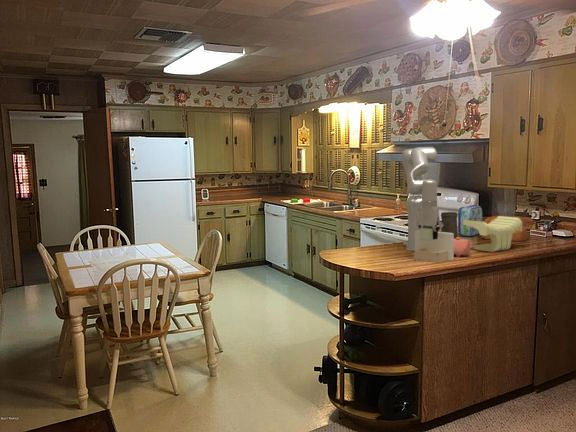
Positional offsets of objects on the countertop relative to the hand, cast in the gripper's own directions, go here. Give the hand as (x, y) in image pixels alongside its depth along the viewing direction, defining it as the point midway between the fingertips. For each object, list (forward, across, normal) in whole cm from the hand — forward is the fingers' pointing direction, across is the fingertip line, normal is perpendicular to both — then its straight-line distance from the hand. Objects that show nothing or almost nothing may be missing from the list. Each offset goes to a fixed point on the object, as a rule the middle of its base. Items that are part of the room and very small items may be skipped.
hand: (429, 238), depth 252 cm
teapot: (+12, +5, +20) cm, 24 cm away
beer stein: (+12, -21, +57) cm, 62 cm away
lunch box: (+12, -27, +96) cm, 101 cm away
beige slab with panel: (+12, -2, +2) cm, 12 cm away
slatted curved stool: (+12, +10, +50) cm, 52 cm away
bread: (+12, -1, +91) cm, 92 cm away
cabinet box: (+1, 0, 0) cm, 1 cm away
